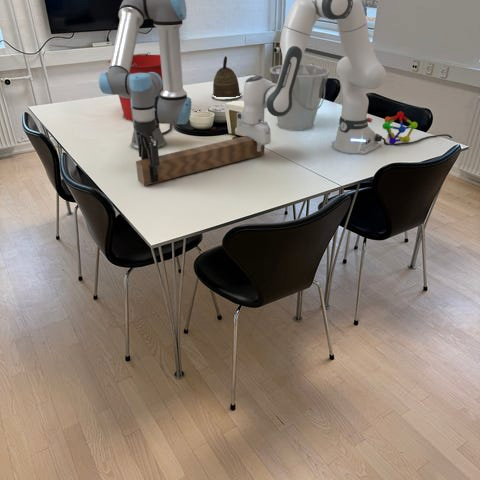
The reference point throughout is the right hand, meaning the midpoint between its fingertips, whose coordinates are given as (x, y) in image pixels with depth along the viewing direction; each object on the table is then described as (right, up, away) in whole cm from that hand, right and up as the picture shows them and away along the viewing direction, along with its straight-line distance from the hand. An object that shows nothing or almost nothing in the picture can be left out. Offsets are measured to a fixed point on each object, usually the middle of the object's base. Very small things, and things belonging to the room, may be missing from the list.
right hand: (253, 148), depth 194 cm
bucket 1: (-58, +30, +54) cm, 85 cm away
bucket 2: (+24, +20, +40) cm, 50 cm away
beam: (-20, -10, -10) cm, 25 cm away
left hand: (-40, -16, -23) cm, 49 cm away
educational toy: (+68, +6, +17) cm, 71 cm away
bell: (-14, +51, +88) cm, 102 cm away
